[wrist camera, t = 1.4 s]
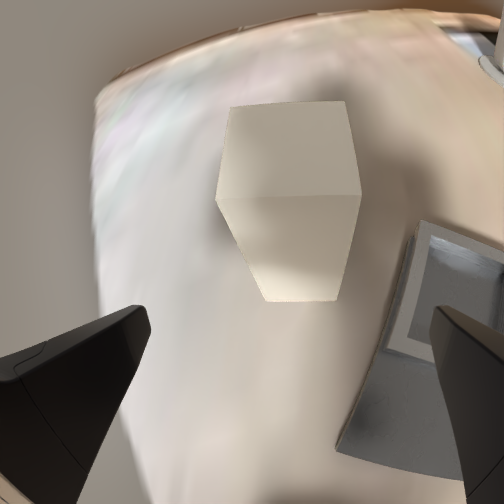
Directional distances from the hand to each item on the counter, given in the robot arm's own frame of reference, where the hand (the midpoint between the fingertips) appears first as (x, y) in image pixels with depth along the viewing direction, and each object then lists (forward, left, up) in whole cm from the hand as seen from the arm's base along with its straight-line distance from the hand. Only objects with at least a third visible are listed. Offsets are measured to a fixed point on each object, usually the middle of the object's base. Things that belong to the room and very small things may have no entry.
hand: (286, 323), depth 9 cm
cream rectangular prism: (+5, +4, -13) cm, 14 cm away
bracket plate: (+6, -9, -13) cm, 17 cm away
